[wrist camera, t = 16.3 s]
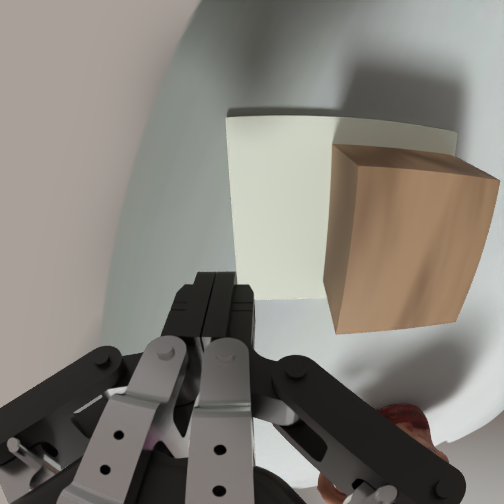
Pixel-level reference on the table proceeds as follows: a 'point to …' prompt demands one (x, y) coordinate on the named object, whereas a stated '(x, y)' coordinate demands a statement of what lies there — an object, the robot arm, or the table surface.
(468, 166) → the walnut block
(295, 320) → the table surface
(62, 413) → the robot arm
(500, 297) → the table surface
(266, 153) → the mat
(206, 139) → the table surface
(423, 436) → the decorative planter
